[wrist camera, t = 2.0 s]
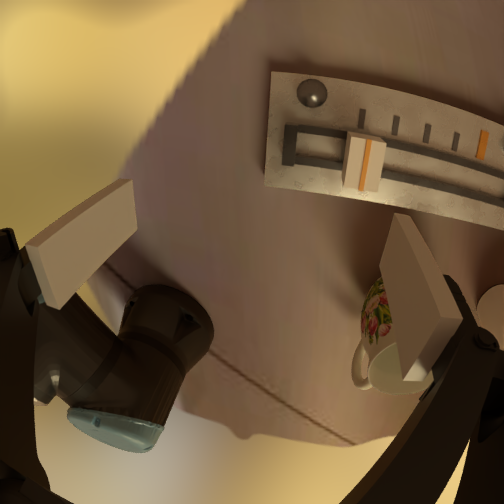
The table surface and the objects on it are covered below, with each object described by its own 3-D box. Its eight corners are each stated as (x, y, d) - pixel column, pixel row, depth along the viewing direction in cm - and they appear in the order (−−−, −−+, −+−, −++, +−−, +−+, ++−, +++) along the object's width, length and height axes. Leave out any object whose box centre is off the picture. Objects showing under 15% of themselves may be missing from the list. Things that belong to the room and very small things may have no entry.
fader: (339, 170, 29) (343, 188, 25) (345, 127, 27) (351, 136, 22) (368, 175, 29) (377, 194, 24) (375, 132, 26) (387, 143, 22)
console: (266, 180, 34) (260, 192, 30) (274, 72, 27) (268, 70, 24) (507, 226, 29) (521, 241, 26) (531, 139, 23) (549, 147, 19)
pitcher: (322, 320, 42) (317, 402, 31) (404, 222, 33) (440, 297, 21) (378, 347, 43) (385, 424, 32) (460, 265, 34) (500, 339, 22)
